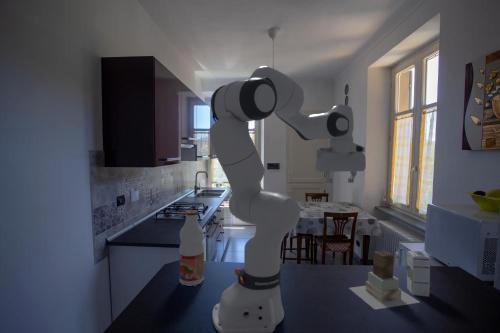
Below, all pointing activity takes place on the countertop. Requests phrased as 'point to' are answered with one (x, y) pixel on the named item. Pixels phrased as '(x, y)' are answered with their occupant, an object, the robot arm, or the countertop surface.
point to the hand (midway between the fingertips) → (340, 183)
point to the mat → (379, 305)
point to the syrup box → (418, 273)
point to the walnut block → (383, 264)
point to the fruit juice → (191, 251)
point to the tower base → (383, 293)
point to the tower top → (383, 282)
